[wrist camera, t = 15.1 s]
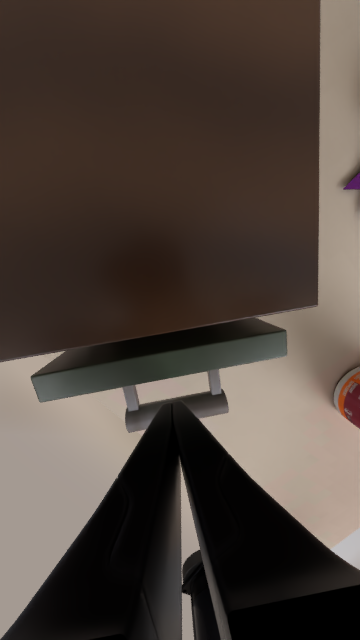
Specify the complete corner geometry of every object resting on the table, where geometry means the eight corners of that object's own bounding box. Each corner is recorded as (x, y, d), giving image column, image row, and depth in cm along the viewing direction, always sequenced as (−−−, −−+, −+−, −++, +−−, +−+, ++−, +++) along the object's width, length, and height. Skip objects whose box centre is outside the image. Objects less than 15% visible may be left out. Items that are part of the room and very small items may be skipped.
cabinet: (227, 291, 16) (319, 306, 7) (91, 314, 15) (-21, 366, 6) (208, 98, 13) (325, -378, 4) (39, 116, 12) (-350, -396, 3)
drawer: (231, 368, 16) (290, 442, 9) (115, 390, 16) (71, 489, 8) (208, 145, 13) (275, -56, 5) (55, 164, 12) (-122, -28, 5)
